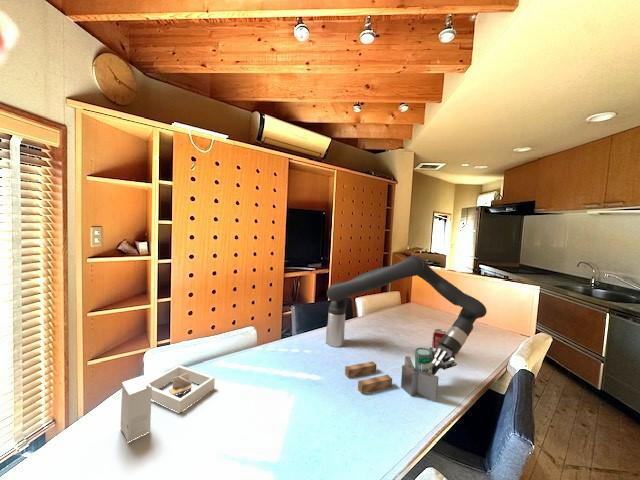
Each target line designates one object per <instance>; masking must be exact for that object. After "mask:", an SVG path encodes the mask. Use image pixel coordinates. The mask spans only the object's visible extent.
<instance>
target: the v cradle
mask: <svg viewBox="0 0 640 480" xmlns="http://www.w3.org/2000/svg"><path fill="white" fill-rule="evenodd" d="M400 388H401V389H403V390H404V391H405V392H406V393H407V394H408V395H409V396H410V397H414V396H420V397H422V398H424V399H427V400H429V401H431V402H434V403H436V402H437V400H438V391H439V390H438V388H439V376H437V375H436V374H435V375H432V374H430V373H427V372H424V371H421V370H419V369H416V368H415V365H414V364H413V362H412V359H411V357H410V356H408V355H407V356H404V364H403V365H402V366H401V379H400Z"/></svg>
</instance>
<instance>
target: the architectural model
mask: <svg viewBox="0 0 640 480" xmlns="http://www.w3.org/2000/svg"><path fill="white" fill-rule="evenodd" d="M192 387H193V386H192V382H191V381H189V373H186V374H183V375H180V376H177V377H174V378H173V381H172V388H170V389H169V390H168V391H169V394H171V395H176V394H179V393H181V394H179V395H184V394H187V392H191V391H192ZM187 390H189V391H187ZM185 391H187V392H185ZM184 392H185V393H184Z"/></svg>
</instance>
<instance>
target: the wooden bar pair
mask: <svg viewBox="0 0 640 480" xmlns="http://www.w3.org/2000/svg"><path fill="white" fill-rule="evenodd" d="M344 367H345V368H344V375H345V376H346V378H347V379H350V378H355V377H361V376H364V375H371V374H375V373H377V364H376V362H374V361H373V360H372V361H367V362H362V363H357V364H352V365H346V366H344ZM388 388H393V378H392V377H391V376H390V375H389V374H384V375H380V376H379V375H378V376H375V377H369V378H365V379H360V380H358V381H357V390H358V392H359V393H360V395H363V394H364V395H365V394H368V393H372V392H377V391H380V390H385V389H388Z"/></svg>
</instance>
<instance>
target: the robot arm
mask: <svg viewBox="0 0 640 480" xmlns="http://www.w3.org/2000/svg"><path fill="white" fill-rule="evenodd" d="M416 276H417V277H419V278H421V279H422V280H423V281H425V282H426V283H428V285H430V286H431V287H432V288H433V289H434V290H435V291H436V292H437V293H438V294H439V295H440V296H441V297H443V298H444V299H445V300H447V301H448V302H450V303H451V304H452V305H454V306H456V307H457V306H458V307H460V308H461V309H460V312H459V313H458V317H457V318H456V319H455V321H454V322H453V324H452V325H451V326H450V327H449V329H447V331H446V334H445V335H444V337H443V338H442V339H441V341H440V344H439V345H438V346H437V347H436V348H433V349H432V346H431V347H429V348H428V349H429V350H431V352H432V375H435V376H436V374H437V372H439V370H440V369H441V370H443V371H444V370H448V369H450V368H454V367H457V366H458V365H457V362H456V361H455V360H456V359H455V358H456V356H457V355H458V353H459V352H460V351H461V349H462V347H463V346H464V344H465V343H466V341H467V339H468V337H469V336H470V334H471V333H472V331H473V329H474V323H475V321H476V320H477V319H481V318H483V317H485V316H486V315H487V310H488V309H487V308H486V306H485V305H484V304H483V302H481V301H480V300H479V299H477V298H475V297H473V296H471V295H469V294H467V293H464V291H462V290H461V289H459V288H458V287H457V286H455V284H452V283H451V282H450V281H448V280H447V279H445V278H444V277H442V276H441V275H440V274H438V273H437V272H436V271H434V269H432V268H431V267H430V266H429V265H428V263H426V262H425V261H424V259H423V258H422V257H420V256H419V255H414V254H413V255H409V256H407V257H406V258H405V259H403V260H401V261H399V262H397V263H394V264H392V265H389V266H383V267H379V268H375V269H374V268H373V269H372V270H369V271H368V270H367V271H366V272H364V273H362V274H359V275H357V276H355V277H354V278H352V279H350V280H348V281H344V282H340V281H339V282H338V281H337V282H335V283H333V284H331V285H329V287H328V288H327V291H326V296H327V298H328V299H329V300H330V303H329V306H328V316H327V317H328V318H327V325H326V330H325V331H326V332H325V333H326V334H325V344H327V345H329V346H330V347H333V348H338V347H340V348H341V347H343V346H344V344H345V327H346V309H347V306H348V298H349V297H351V296H353V295H356V294H361V293H366V292H369V291H372V290H376V289H379V288H381V287H384V286H387V285H389V284H392V283H393V282H396V281H397V280H398V281H399V280H401V279H407V278H411V277H416ZM435 354H436V355H435Z"/></svg>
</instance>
